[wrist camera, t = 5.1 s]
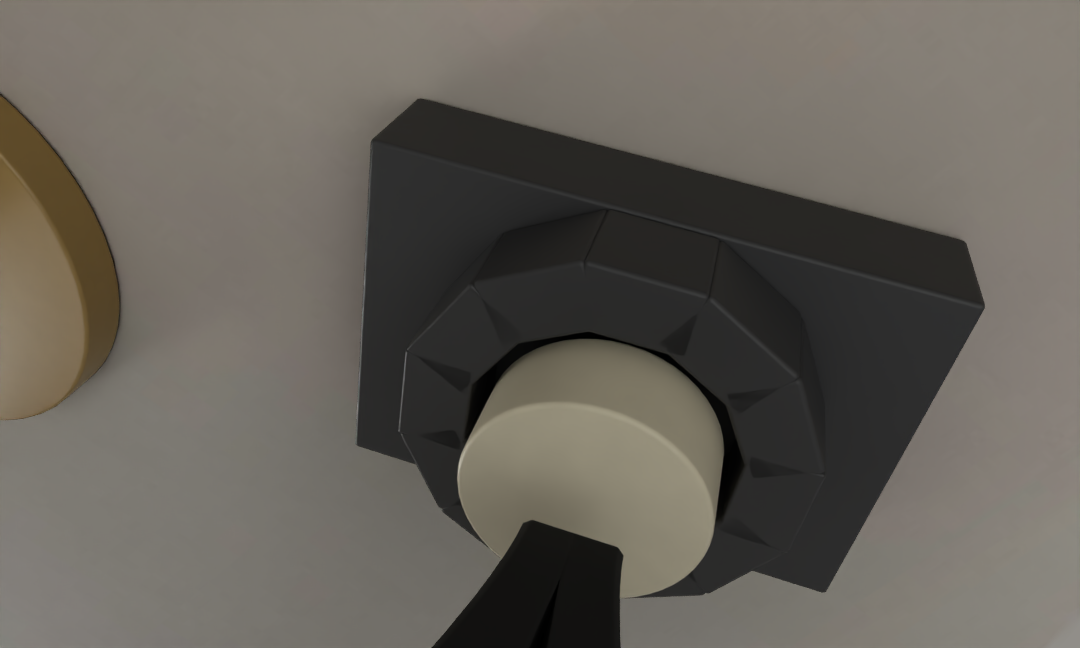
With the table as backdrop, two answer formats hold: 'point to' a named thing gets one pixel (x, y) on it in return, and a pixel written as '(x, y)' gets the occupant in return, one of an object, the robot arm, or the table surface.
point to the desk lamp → (48, 276)
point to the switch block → (656, 319)
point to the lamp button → (598, 458)
